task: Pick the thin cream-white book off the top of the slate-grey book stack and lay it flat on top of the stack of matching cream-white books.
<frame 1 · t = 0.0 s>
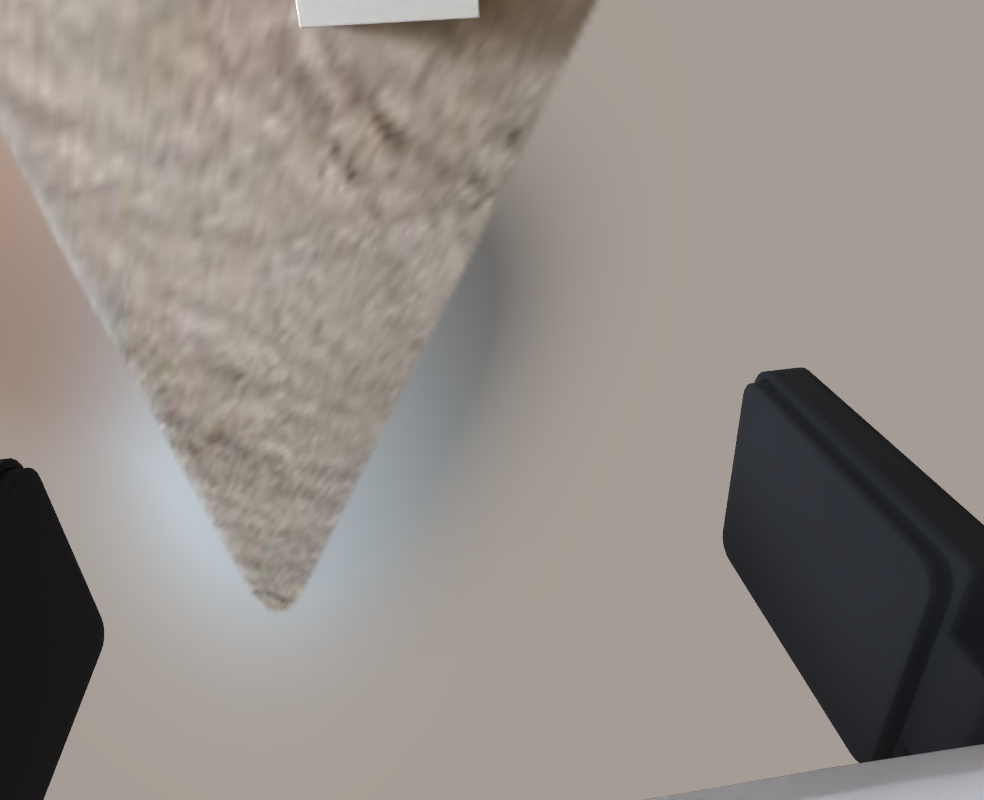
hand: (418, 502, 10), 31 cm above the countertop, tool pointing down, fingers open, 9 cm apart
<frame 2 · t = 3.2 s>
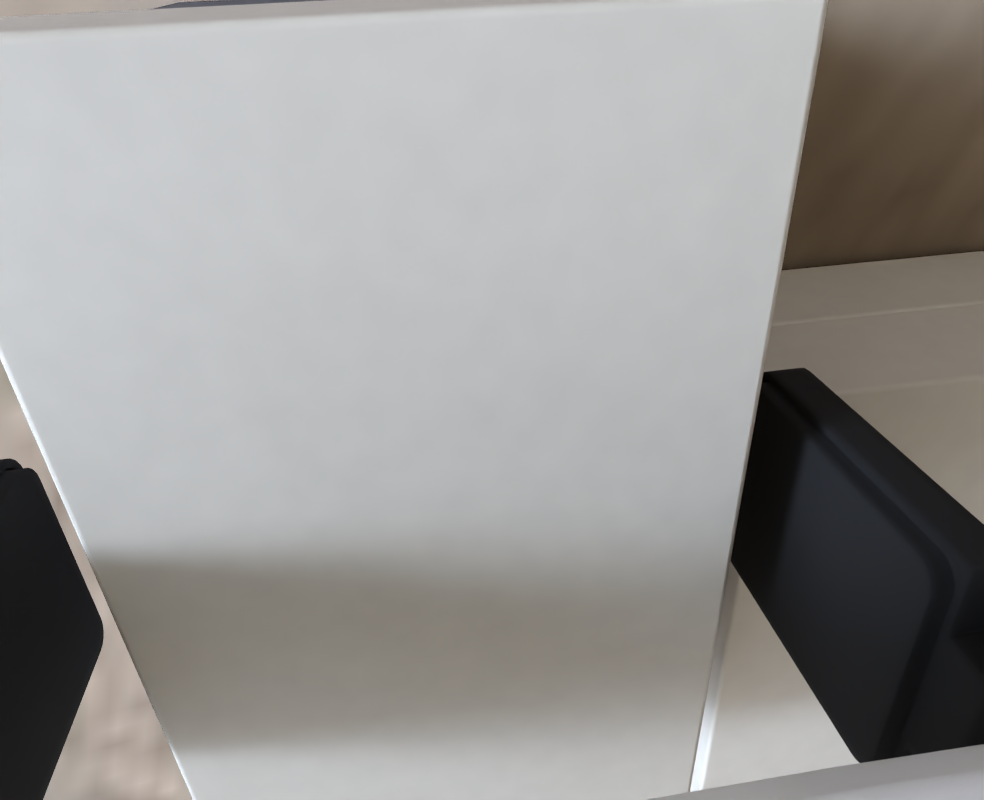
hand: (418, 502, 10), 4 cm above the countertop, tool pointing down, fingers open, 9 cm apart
white books: (799, 489, 17), on the countertop, touching gripper
white book: (424, 457, 10), point 4 cm above the countertop, touching grey books
grey books: (409, 330, 13), on the countertop, touching white book
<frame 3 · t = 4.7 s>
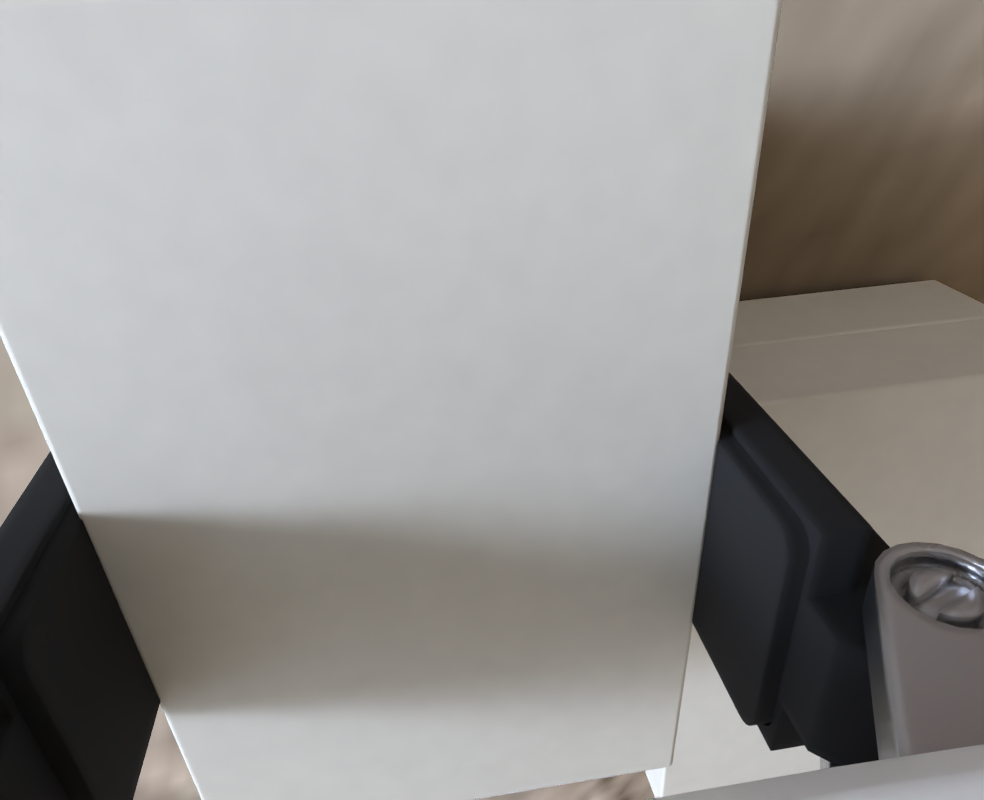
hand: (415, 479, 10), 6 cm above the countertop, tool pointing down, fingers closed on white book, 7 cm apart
white books: (750, 495, 19), on the countertop
white book: (410, 428, 10), point 5 cm above the countertop, touching gripper
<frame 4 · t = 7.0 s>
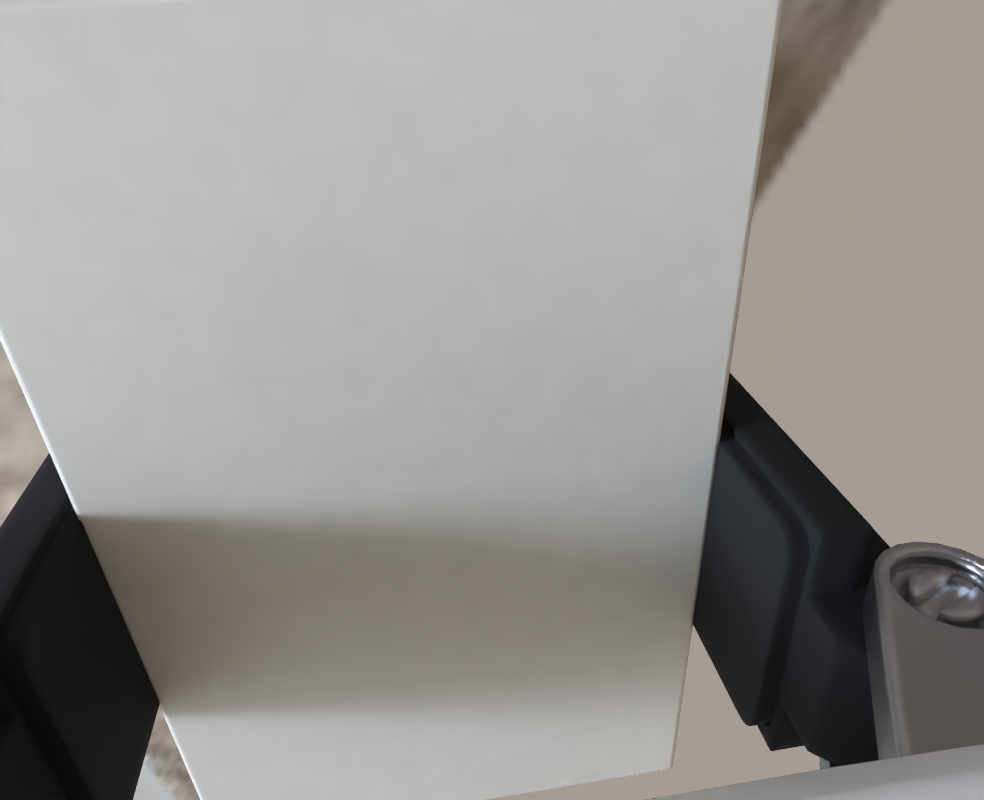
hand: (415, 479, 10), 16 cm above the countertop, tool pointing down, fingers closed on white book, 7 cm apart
white book: (410, 430, 10), point 16 cm above the countertop, touching gripper
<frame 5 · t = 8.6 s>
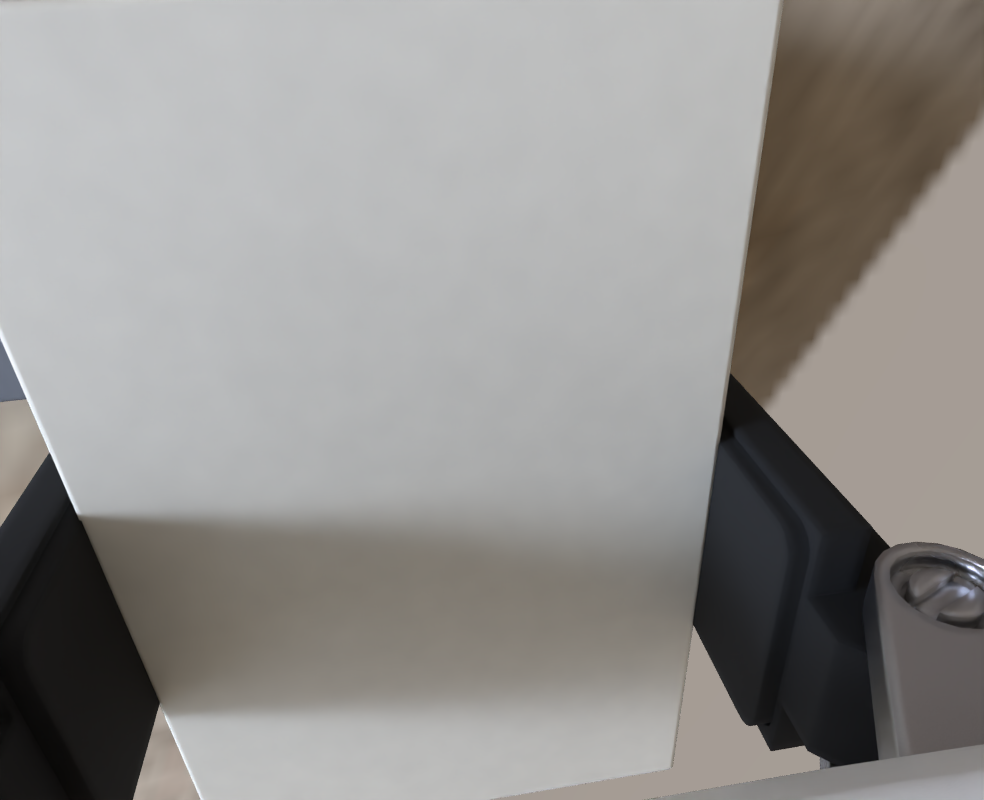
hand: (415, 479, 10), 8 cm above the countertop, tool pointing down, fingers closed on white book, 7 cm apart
white book: (410, 431, 10), point 8 cm above the countertop, touching gripper
when the fingers open (5 cm above the countertop, at t = 9.8 s): white book stays where it is, resting on white books.
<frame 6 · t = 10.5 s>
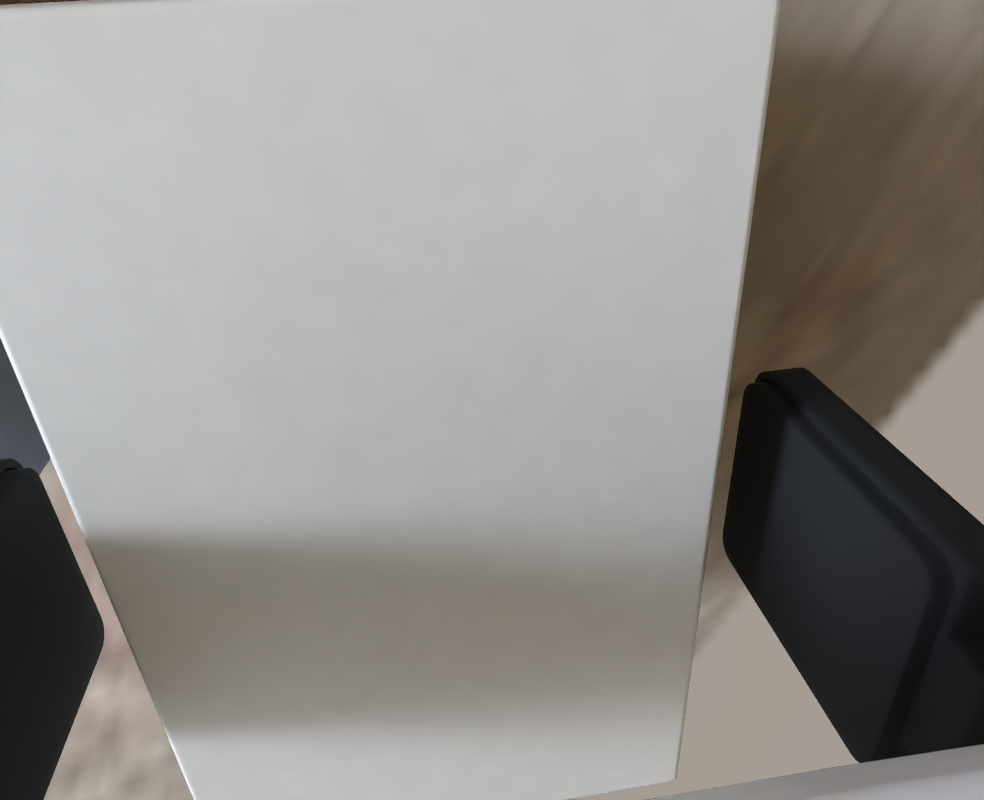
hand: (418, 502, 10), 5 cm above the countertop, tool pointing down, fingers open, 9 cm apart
white book: (411, 439, 10), point 4 cm above the countertop, touching white books
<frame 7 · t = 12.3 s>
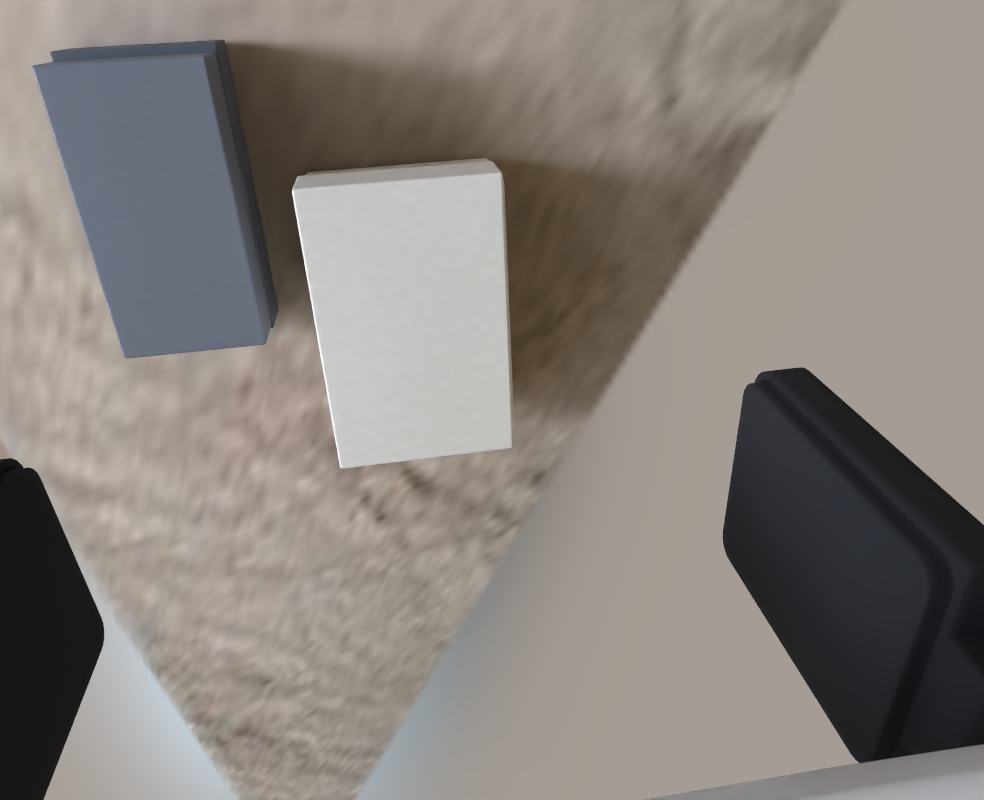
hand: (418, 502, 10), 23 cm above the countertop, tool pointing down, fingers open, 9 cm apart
white books: (411, 290, 33), on the countertop, touching white book
white book: (411, 311, 29), point 4 cm above the countertop, touching white books
grey books: (184, 192, 30), on the countertop
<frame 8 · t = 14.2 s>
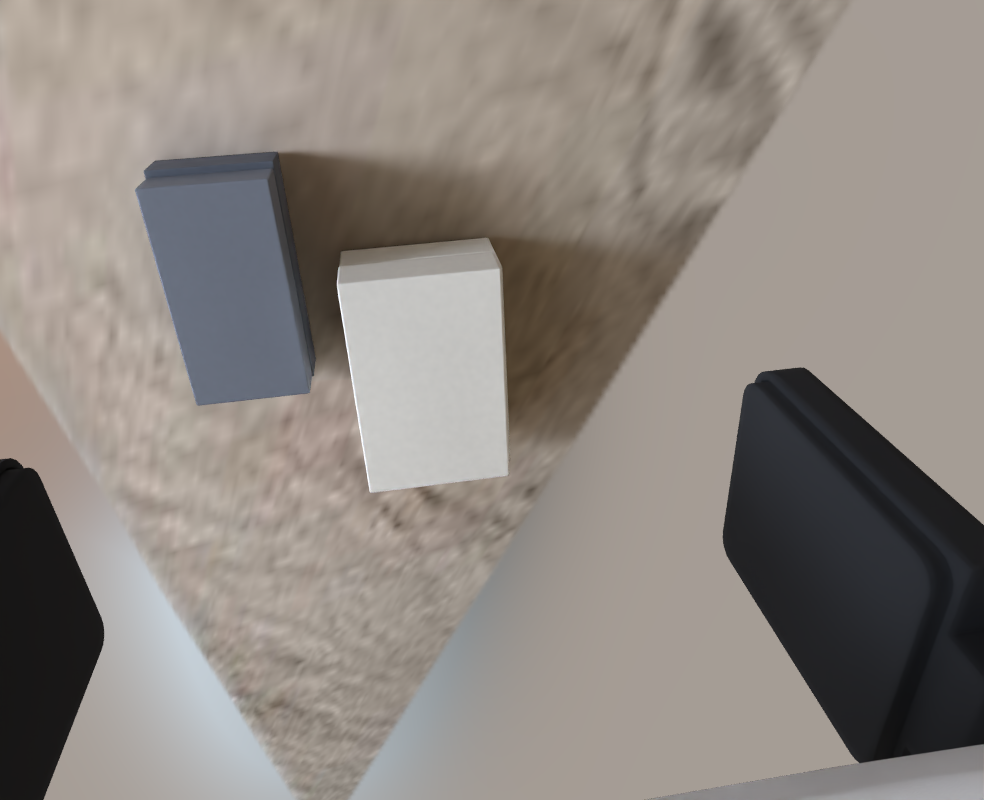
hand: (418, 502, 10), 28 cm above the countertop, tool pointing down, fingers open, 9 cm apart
white books: (425, 341, 40), on the countertop, touching white book
white book: (427, 367, 36), point 4 cm above the countertop, touching white books
grey books: (241, 268, 36), on the countertop
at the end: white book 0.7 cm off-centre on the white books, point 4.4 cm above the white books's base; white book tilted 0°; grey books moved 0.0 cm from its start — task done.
